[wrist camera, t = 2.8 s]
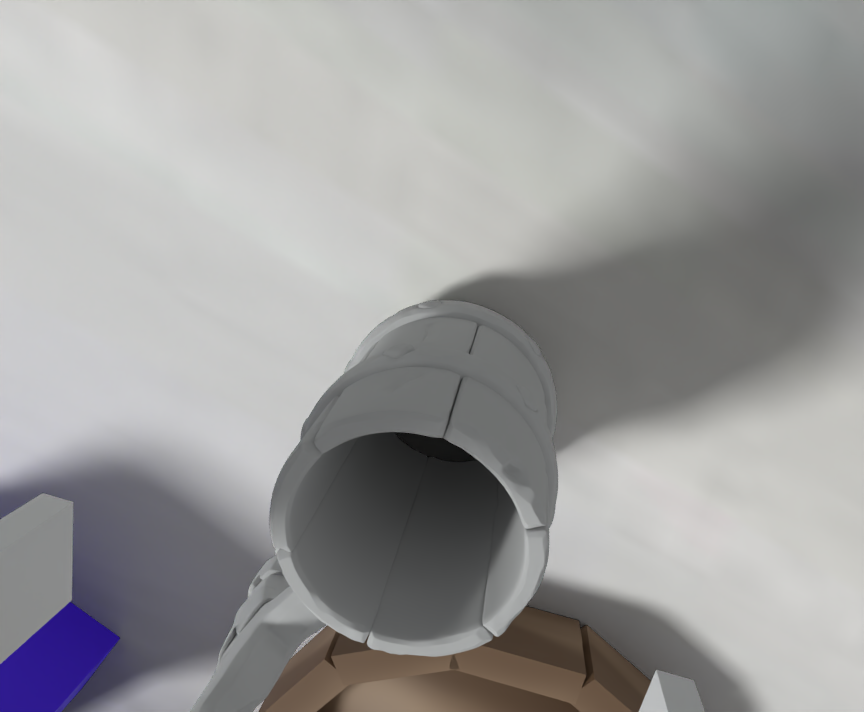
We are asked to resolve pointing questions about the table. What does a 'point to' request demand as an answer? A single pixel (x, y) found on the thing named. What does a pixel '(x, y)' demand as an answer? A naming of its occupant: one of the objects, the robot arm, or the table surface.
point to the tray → (465, 674)
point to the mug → (406, 502)
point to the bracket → (54, 662)
